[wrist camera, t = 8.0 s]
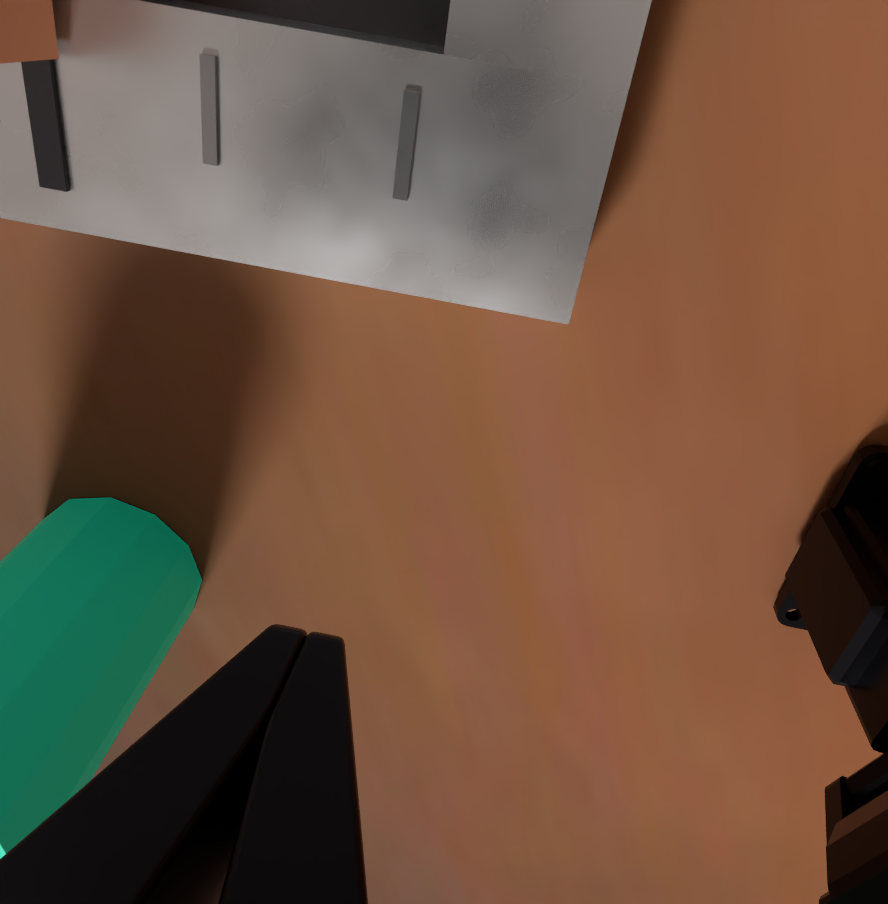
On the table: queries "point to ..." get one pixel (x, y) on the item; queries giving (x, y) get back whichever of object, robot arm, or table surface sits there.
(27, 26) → the fader orange
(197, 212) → the grey slider board
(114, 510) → the candle
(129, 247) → the table surface
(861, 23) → the table surface
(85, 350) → the table surface
